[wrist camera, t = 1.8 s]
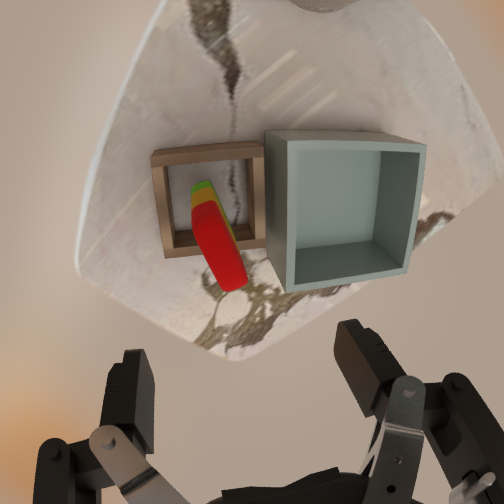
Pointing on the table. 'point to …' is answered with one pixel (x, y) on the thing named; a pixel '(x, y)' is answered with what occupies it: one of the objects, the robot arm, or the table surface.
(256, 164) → the collar
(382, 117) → the table surface
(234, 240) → the popsicle
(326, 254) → the bin
